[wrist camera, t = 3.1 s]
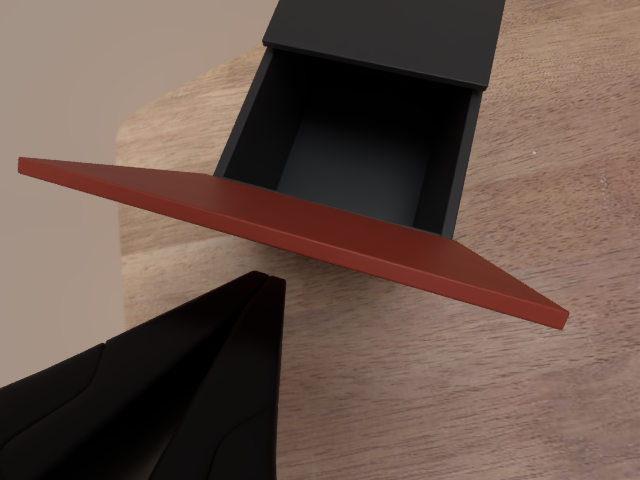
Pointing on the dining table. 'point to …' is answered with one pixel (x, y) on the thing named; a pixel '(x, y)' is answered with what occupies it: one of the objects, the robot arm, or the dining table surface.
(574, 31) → the dining table surface
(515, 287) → the lid
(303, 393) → the dining table surface
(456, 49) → the black flip box
